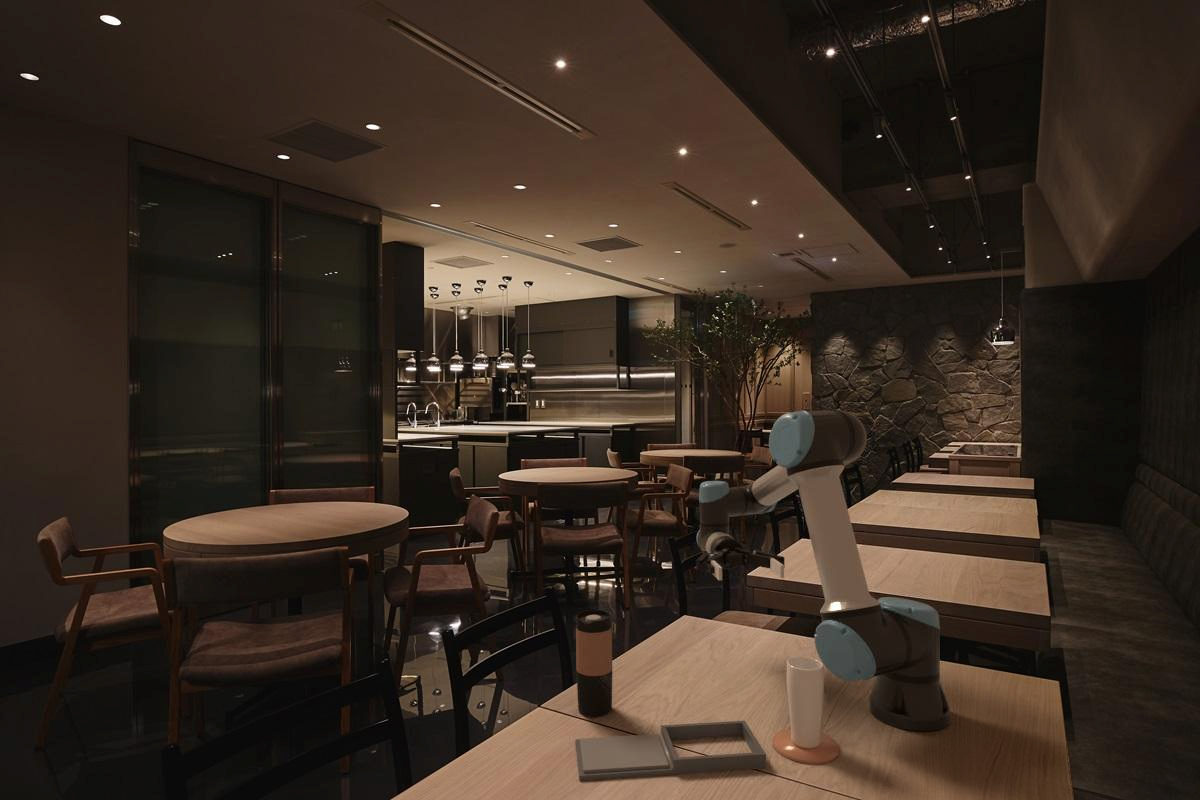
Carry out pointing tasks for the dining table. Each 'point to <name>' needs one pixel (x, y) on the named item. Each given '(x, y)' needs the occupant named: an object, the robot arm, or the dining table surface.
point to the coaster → (805, 749)
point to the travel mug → (594, 662)
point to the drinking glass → (805, 700)
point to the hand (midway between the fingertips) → (751, 573)
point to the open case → (664, 752)
